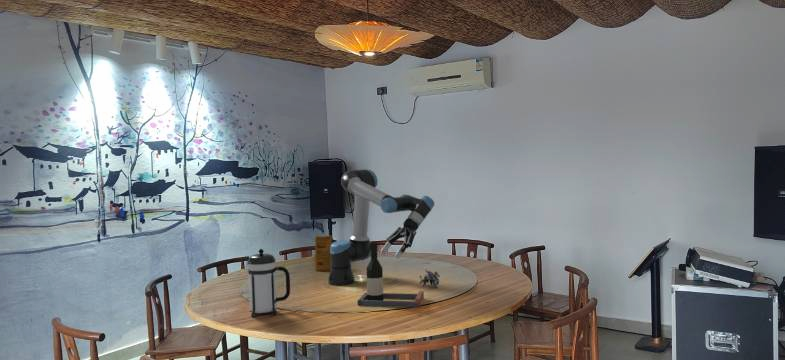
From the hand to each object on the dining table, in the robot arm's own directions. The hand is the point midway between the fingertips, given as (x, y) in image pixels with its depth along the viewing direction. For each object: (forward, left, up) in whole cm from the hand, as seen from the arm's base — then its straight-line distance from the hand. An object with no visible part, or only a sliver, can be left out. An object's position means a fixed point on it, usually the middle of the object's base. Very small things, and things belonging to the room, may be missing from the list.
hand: (389, 255), depth 263 cm
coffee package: (-58, +68, -23) cm, 92 cm away
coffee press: (-54, -28, -23) cm, 65 cm away
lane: (+1, -5, -22) cm, 23 cm away
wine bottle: (-7, -5, -23) cm, 24 cm away
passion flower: (+16, +26, -23) cm, 38 cm away
